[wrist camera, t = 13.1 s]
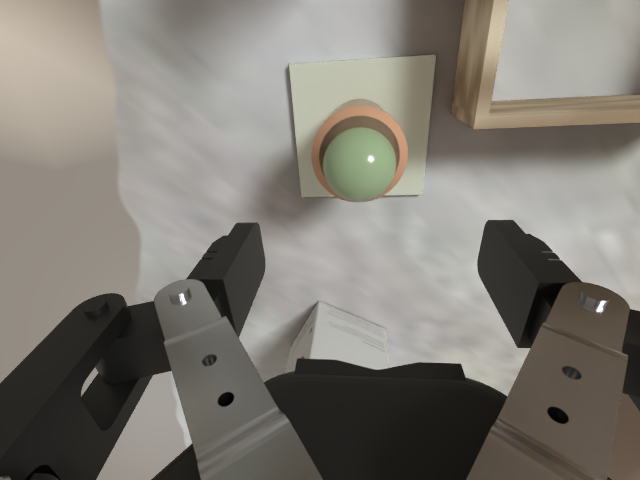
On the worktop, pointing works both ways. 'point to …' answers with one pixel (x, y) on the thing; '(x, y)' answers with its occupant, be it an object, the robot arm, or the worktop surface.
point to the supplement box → (339, 340)
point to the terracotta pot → (359, 152)
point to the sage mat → (371, 84)
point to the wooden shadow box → (481, 113)
